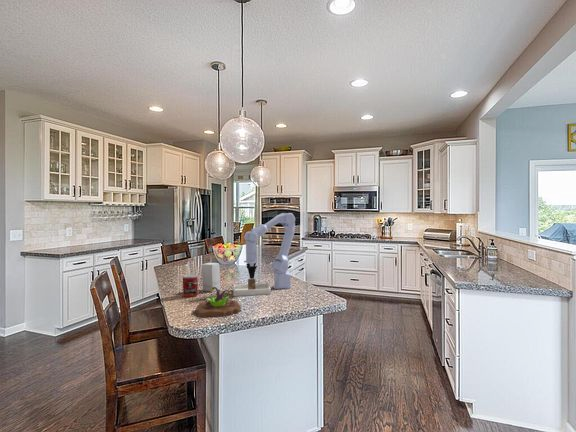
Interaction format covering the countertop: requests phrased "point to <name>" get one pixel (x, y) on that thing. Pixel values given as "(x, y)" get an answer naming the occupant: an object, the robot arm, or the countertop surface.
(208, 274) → the skincare box
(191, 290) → the canned food
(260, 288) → the tray
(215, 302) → the plant
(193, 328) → the countertop surface
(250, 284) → the walnut block
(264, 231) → the robot arm
